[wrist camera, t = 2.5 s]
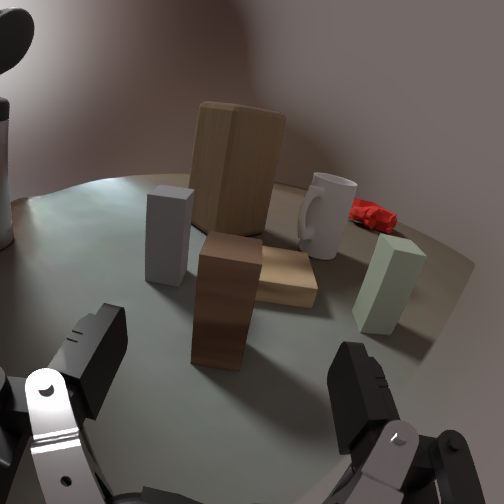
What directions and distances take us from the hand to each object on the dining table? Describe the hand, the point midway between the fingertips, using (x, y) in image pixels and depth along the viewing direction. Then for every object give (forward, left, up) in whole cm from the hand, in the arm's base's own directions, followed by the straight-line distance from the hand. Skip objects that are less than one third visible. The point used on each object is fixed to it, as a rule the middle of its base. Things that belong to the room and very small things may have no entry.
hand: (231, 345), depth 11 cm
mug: (+27, +25, -11) cm, 38 cm away
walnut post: (+5, +10, -11) cm, 16 cm away
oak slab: (+16, +19, -12) cm, 27 cm away
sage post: (+23, +8, -11) cm, 27 cm away
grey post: (+4, +23, -11) cm, 26 cm away
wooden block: (+17, +36, -11) cm, 41 cm away
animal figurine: (+53, +37, -12) cm, 65 cm away
